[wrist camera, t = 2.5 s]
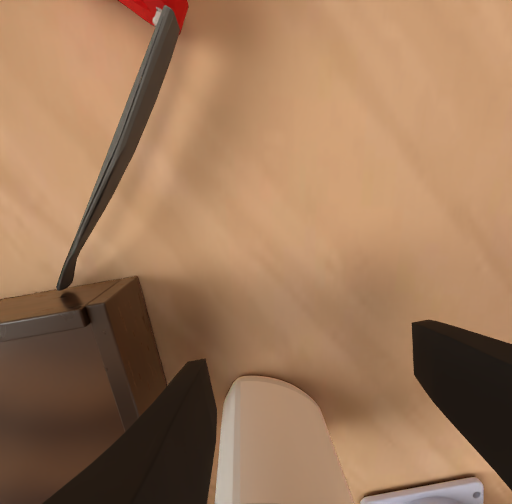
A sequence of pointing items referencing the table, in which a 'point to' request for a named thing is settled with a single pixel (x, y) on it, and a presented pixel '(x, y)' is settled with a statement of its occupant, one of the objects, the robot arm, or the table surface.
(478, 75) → the table surface
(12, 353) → the step shelf
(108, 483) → the robot arm
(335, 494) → the eye dropper bottle
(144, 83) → the novelty glasses
